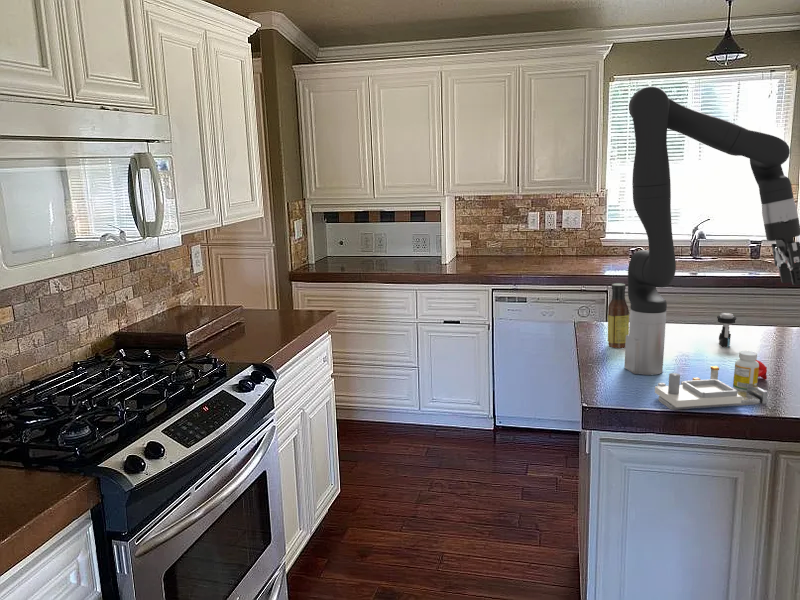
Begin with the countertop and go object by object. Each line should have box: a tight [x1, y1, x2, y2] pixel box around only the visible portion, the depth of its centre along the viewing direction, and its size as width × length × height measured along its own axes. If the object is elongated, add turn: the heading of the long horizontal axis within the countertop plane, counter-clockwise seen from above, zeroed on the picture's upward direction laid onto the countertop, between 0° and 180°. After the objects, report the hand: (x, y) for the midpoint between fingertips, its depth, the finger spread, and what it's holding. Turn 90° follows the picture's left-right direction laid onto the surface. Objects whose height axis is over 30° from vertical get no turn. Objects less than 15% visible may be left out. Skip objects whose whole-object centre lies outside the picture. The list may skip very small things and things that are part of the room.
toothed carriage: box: [654, 372, 742, 407], centre depth 157 cm, size 16×11×6 cm
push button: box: [716, 312, 737, 348], centre depth 205 cm, size 7×5×10 cm
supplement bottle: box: [732, 350, 759, 392], centre depth 165 cm, size 5×5×10 cm
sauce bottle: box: [607, 282, 630, 350], centre depth 205 cm, size 7×6×20 cm
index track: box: [658, 365, 768, 411], centre depth 160 cm, size 24×12×6 cm, turn 97°
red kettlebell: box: [755, 359, 768, 384], centre depth 172 cm, size 8×6×6 cm
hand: (792, 283), depth 164 cm, fingers open, 8 cm apart
